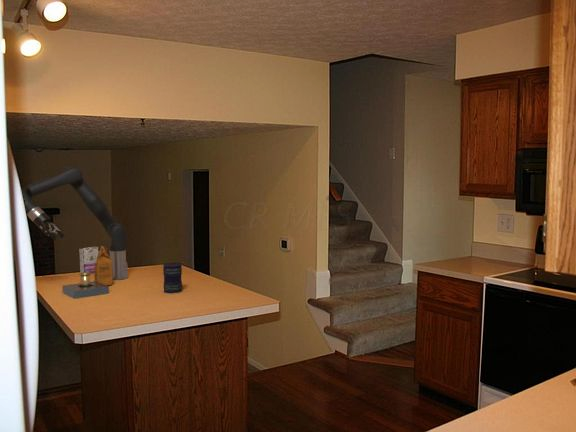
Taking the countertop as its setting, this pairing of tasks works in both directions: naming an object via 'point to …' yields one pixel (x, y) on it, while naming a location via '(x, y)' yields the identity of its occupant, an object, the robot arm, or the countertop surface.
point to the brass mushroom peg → (85, 279)
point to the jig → (85, 290)
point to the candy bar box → (88, 259)
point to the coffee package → (103, 268)
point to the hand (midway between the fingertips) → (60, 238)
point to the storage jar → (172, 277)
